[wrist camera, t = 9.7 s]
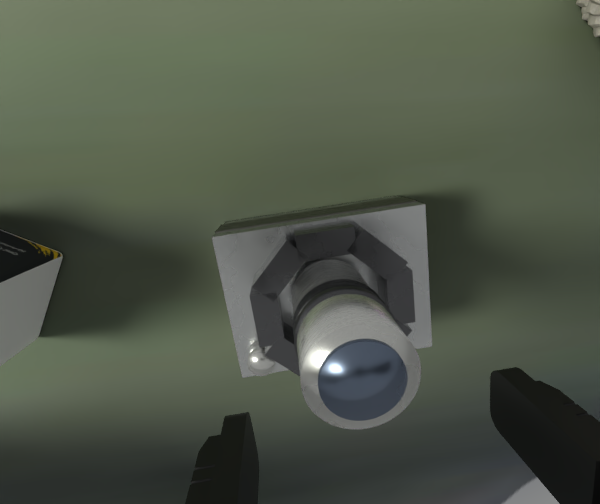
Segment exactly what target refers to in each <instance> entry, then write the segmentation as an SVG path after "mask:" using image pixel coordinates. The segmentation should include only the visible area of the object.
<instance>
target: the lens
mask: <svg viewBox="0 0 600 504" xmlns="http://www.w3.org/2000/svg"><path fill="white" fill-rule="evenodd" d="M292 306H293V315H294V318H293V334H294V345H295V352H296V356H297V358H298V361H299V370H300V379H301V389H302V393H303V396H304V399H305V401H306V403H307V404H308V406H309V408H310V409H311V410H312V411H313V412H314V413H315V414H316V415H317V416H318V417H319V418H320V419H322V420H323V421H325V422H327V423H329V424H331V425H334V426H336V427H340V428H345V429H366V428H371V427H375V426H378V425H381V424H383V423H386V422H388V421H390V420H391V419H393V418H394V417H396V416H397V415H398V414H400V413H401V412H402V411H403V410H404V409H405V408H406V407H407V406H408V405H409V403H410V402H411V401H412V399H413V398H414V396H415V394H416V392H417V390H418V387H419V384H420V379H421V364H420V359H419V356H418V353H417V351H416V349H415V348H414V346H413V345H412V343H411V342H410V340H409V339H408V338H407V336H406V335H405V334H404V332H403V331H402V330H401V328H400V327H399V326H398V324H397V323H396V320H395V318H394V316H393V314H392V313H391V311H390V310H389V308H388V307H387V306H386V304H385V303H384V302H383V301H382V299H381V298H380V297H379V295H378V294H377V293H376V292H375V291H374V290H373V289H371V288H370V287H369V285H368V284H367V283H366V281H365V280H364V279H363V277H362V276H361V275H360V273H359V272H358V271H357V270H356V269H355V268H354V267H353V266H351V265H349V264H348V263H346V262H343V261H340V260H334V259H328V260H321V261H318V262H315V263H313V264H311V265H309V266H308V267H306V268H305V269H304V270H303V271H302V272H301V273H300V274H299V275H298V277H297V278H296V280H295V282H294V285H293V289H292Z"/></svg>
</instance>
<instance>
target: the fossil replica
mask: <svg viewBox="0 0 600 504" xmlns="http://www.w3.org/2000/svg"><path fill="white" fill-rule="evenodd" d="M576 4H577V5H578V6H580V7H582V8H581V12H582V19H583V20H587V21H588V25H589V26H591V27H592V28H593V34H594V36H595V37H600V0H577V2H576Z"/></svg>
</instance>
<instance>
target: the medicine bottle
mask: <svg viewBox="0 0 600 504" xmlns="http://www.w3.org/2000/svg"><path fill="white" fill-rule="evenodd" d="M62 259H63V255H62V253H60V252H59V251H56V250H53V249H51V248H48V247H45V246H43V245H40V244H37V243H35V242H32V241H30V240H27V239H24V238H22V237H19V236H16V235H14V234H11V233H8V232H6V231H3V230H0V366H1V365H2V364H4V363H5V362H6V361H8V360H9V359H10V358H12V357H13V356H14V355H16V354H17V353H18V352H20V351H21V350H23V349H24V348H25V347H27V346H28V345H29V344H31V343H32V342H33V341H35V340H36V339H37V338H38V336H39V334H40V331H41V327H42V324H43V321H44V318H45V314H46V311H47V308H48V304H49V301H50V298H51V295H52V291H53V288H54V285H55V282H56V278H57V275H58V272H59V268H60V265H61V262H62Z"/></svg>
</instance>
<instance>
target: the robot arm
mask: <svg viewBox="0 0 600 504" xmlns="http://www.w3.org/2000/svg"><path fill="white" fill-rule="evenodd" d="M490 412H491V417H492V420H493V422H494V425H495V427H496V428H497V430H498V431H499V433H500V434H501V435H502V436H503V437H504V438H505V440H506V441H507V442H508V443H509V444H510V446H511V447H512V448H513V449H514V450H515V451H516V453H517V454H518V455H519V456H520V457H521V458H522V460H523V461H524V462H525V463H526V464H527V466H528V467H529V468H530V469H531V470H532V471H533V473H534V474H535V475H536V476H537V477H538V479H539V480H540V481H541V482H542V483H543V484H544V486H545V487H546V488H547V489H548V490H549V491H550V493H551V494H552V495H553V496H554V497H555V498H556V500H557V501H558V502H559V503H560V504H600V422H599V421H598V420H597V419H595V418H594V417H593V416H591V415H588V413H587V412H586V411H585V410H584V409H583V408H581V407H580V406H579V405H575V403H574V401H572V400H571V399H570V398H569V397H567V396H566V395H565V394H563V393H562V392H561V391H560V390H558V389H556V388H554V387H552V386H550V385H548V384H545V383H543V382H541V381H534V380H533V379H532V378H531V377H530V376H528V375H527V374H526V373H525V372H524V371H522V370H521V369H519V368H517V367H514V368H509V369H503V370H497V371H493V372H492V373H491V377H490ZM258 482H259V461H258V453H257V447H256V442H255V438H254V433H253V428H252V423H251V418H250V415H249V413H248V412H246V413H240V414H235V415H229V416H225V418H224V422H223V427H222V432H221V435H217V436H211V437H209V438H208V439H207V441H206V442H205V444H204V445H203V447H202V448H201V449H200V451H199V453H198V457H197V461H196V465H195V471H194V473H193V476H192V480H191V485H190V488H189V492H188V496H187V499H186V503H185V504H257V503H258Z"/></svg>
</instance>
